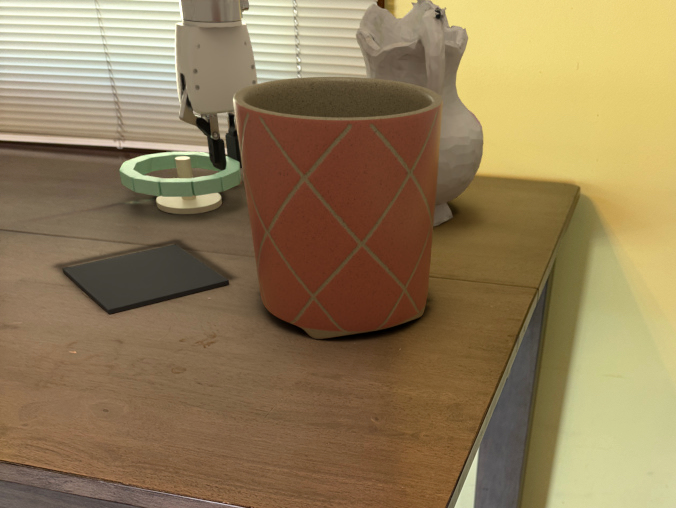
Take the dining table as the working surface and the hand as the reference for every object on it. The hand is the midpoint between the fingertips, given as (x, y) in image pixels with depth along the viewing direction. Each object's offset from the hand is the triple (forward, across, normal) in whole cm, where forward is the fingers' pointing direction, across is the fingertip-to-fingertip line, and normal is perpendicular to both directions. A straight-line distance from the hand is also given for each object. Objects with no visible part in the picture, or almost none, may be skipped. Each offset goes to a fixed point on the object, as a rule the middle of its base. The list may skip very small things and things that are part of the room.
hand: (227, 166), depth 107 cm
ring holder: (+4, +6, 0) cm, 8 cm away
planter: (+4, +8, +41) cm, 42 cm away
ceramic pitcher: (+4, -16, +22) cm, 28 cm away
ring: (+1, +7, 0) cm, 7 cm away
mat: (+4, +22, +22) cm, 32 cm away
